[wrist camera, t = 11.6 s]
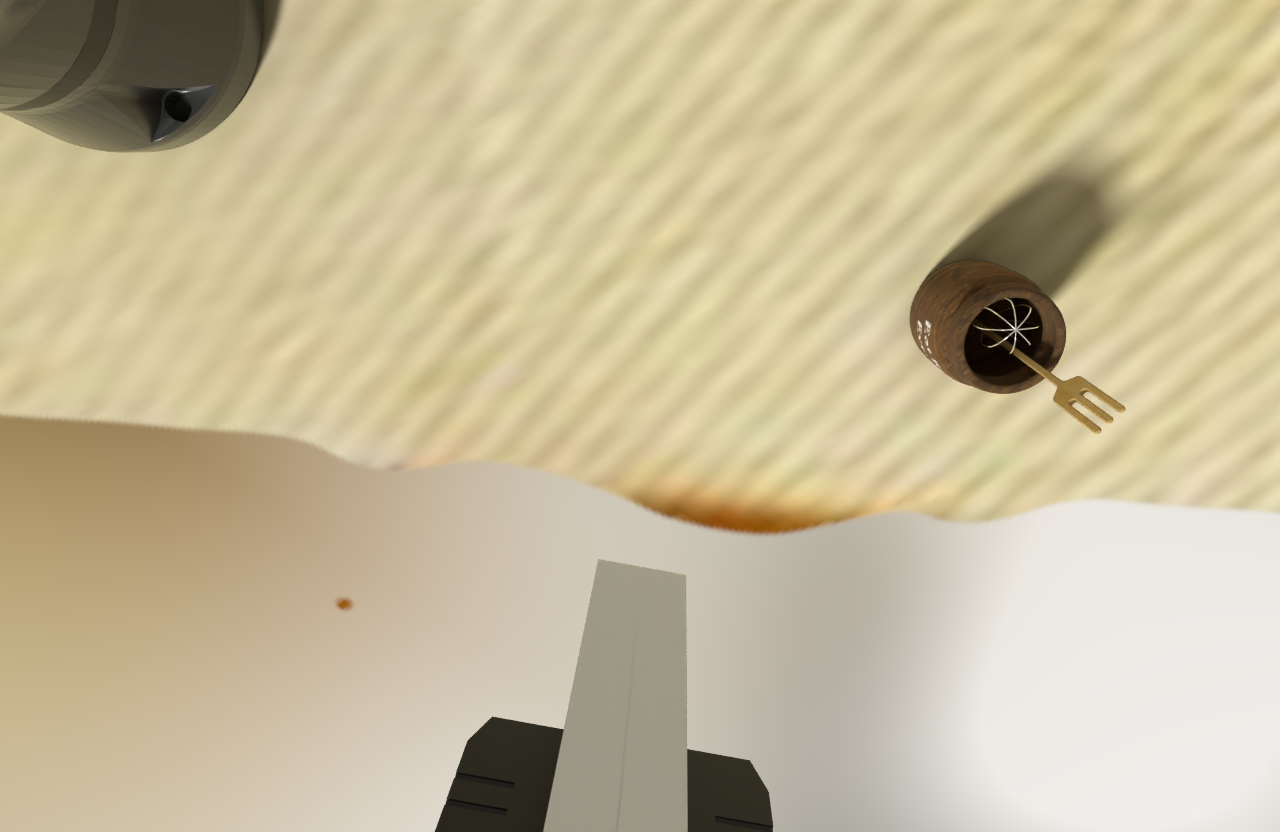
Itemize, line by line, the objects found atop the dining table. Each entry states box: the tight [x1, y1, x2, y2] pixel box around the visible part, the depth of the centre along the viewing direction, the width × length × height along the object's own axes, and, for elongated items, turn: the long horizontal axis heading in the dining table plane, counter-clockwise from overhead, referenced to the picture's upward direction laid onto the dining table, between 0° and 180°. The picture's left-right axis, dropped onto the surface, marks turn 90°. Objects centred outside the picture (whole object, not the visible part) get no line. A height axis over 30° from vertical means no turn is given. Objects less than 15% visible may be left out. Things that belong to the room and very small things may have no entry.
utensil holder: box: [910, 260, 1125, 434], centre depth 39 cm, size 6×6×12 cm
